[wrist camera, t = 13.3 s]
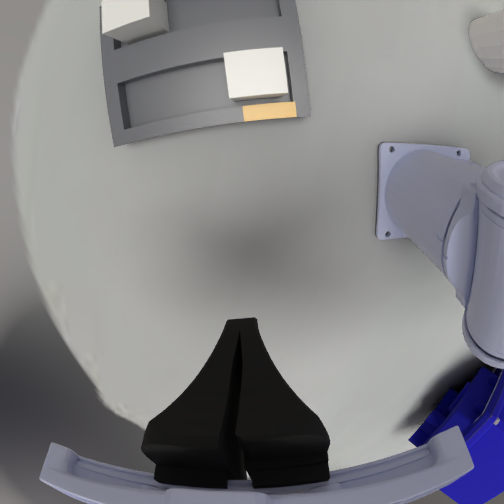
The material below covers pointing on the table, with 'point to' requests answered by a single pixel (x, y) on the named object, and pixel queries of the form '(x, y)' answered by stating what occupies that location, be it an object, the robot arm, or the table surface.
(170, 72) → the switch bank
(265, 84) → the white block
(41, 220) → the table surface
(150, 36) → the white rectangular block
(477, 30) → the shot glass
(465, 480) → the blue valve with handwheel
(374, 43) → the table surface
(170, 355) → the table surface
